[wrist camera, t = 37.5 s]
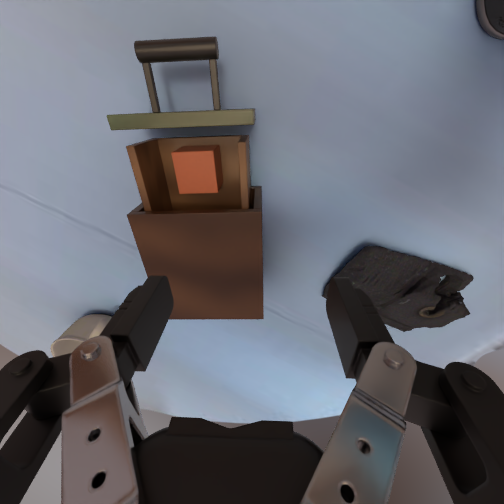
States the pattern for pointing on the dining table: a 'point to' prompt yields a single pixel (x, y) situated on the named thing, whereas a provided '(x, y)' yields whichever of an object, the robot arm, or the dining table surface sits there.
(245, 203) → the drawer
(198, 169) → the block
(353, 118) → the dining table surface
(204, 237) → the cabinet
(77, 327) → the teacup
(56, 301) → the dining table surface
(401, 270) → the dark slate chunk
